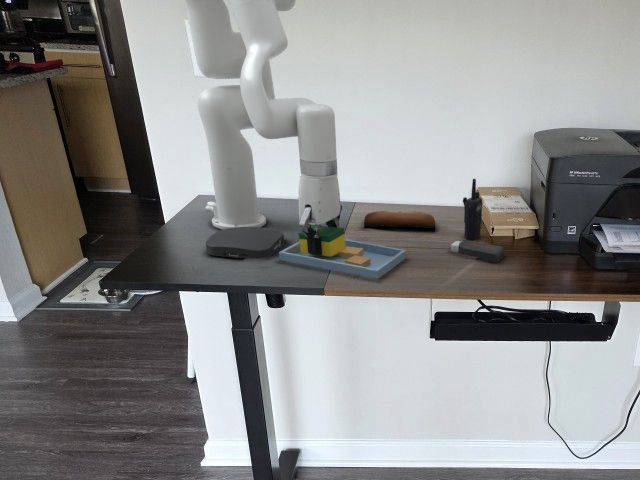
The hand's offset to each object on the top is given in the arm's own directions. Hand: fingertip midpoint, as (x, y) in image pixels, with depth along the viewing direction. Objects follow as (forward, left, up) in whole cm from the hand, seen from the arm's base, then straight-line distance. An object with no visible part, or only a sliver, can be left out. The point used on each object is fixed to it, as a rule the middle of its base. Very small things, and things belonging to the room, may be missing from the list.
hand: (323, 248), depth 150 cm
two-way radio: (+24, +30, -2) cm, 39 cm away
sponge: (0, 0, 0) cm, 0 cm away
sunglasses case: (+5, +29, -2) cm, 30 cm away
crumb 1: (+6, +2, -1) cm, 6 cm away
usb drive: (+30, +18, -2) cm, 35 cm away
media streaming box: (-18, -3, -2) cm, 18 cm away
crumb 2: (+9, -2, -1) cm, 10 cm away
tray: (+5, 0, -2) cm, 5 cm away
